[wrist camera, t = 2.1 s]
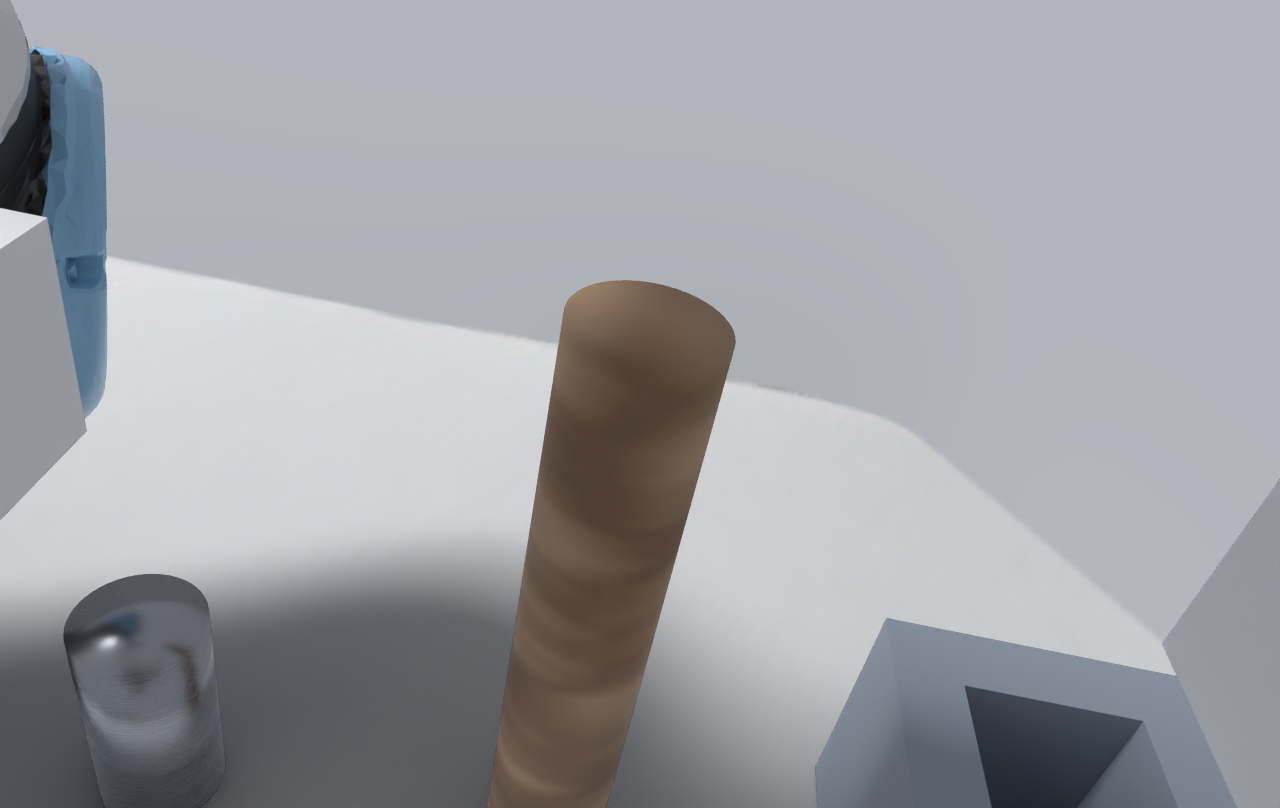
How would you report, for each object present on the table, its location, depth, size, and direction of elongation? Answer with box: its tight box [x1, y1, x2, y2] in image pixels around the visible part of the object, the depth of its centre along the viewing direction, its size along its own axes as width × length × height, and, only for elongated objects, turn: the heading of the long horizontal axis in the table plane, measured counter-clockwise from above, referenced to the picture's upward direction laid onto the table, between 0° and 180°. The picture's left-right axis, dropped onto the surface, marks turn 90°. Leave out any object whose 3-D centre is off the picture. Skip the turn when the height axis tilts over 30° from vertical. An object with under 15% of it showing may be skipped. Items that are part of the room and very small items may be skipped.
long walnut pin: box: [487, 280, 735, 808], centre depth 29 cm, size 4×4×22 cm
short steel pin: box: [63, 574, 225, 808], centre depth 32 cm, size 4×4×8 cm
